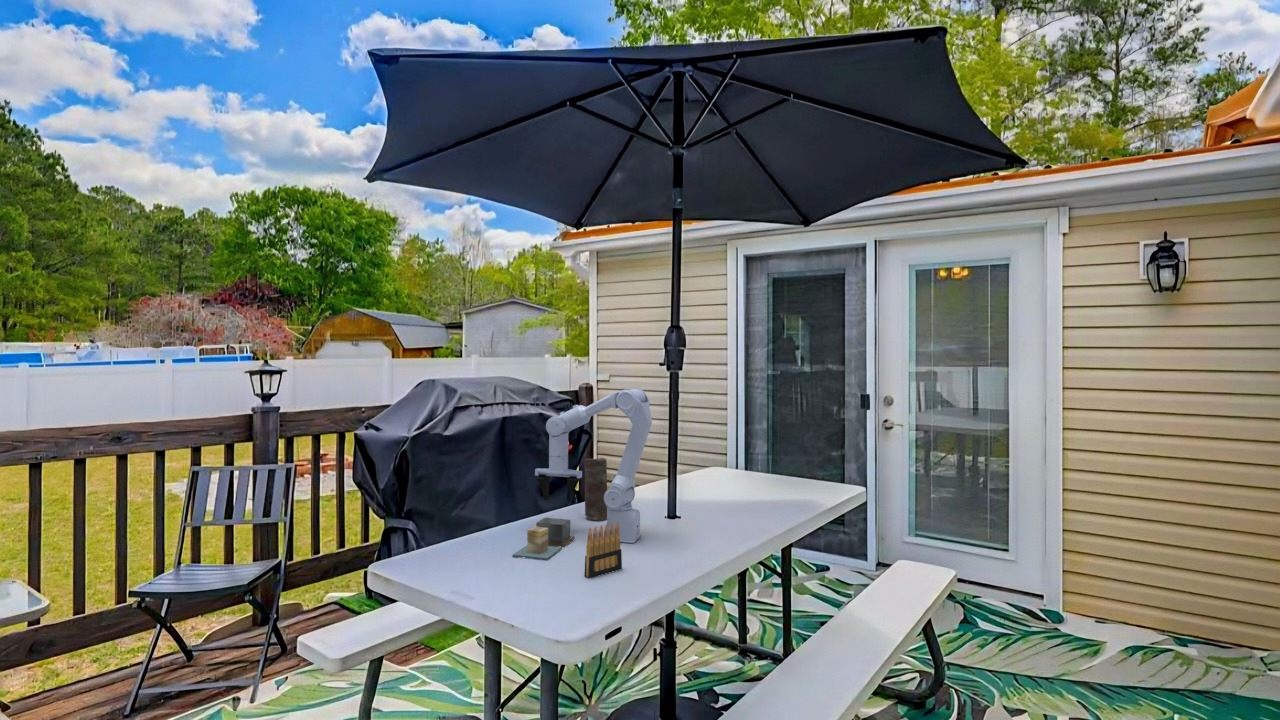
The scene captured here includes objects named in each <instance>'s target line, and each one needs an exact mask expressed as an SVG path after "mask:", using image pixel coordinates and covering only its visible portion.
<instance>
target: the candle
mask: <svg viewBox="0 0 1280 720" xmlns="http://www.w3.org/2000/svg"><path fill="white" fill-rule="evenodd" d="M607 467H608V465H607V458H605V457H600V458H585V459H584V516H585V517H586V518H589V519H590V520H594V521H597V522H602V521H604V520H607V506H606V504H605V502H604V494H605V492H606V491H607V490H608V476H607V475H608V472H607V470H608V469H607Z"/></svg>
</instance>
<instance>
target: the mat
mask: <svg viewBox="0 0 1280 720" xmlns="http://www.w3.org/2000/svg"><path fill="white" fill-rule="evenodd" d="M561 549H562V550H563V547H554V546H548V550H547V551H545V552H543V553H541V554H537V553H530V552H527V545H525V546H523V547H522V548H521V549H519V550H518V551H516V552H515V553H513V554H512V558H518V557H525V558H524V559H529V558H533V559H532V560H539V559H544V560H543V561H549V560H550V559H551V558H553V557H554V556H555V555H556V553H557V552H558V551H559V552H561V551H562V550H561ZM560 550H561V551H560ZM559 552H558V553H559ZM558 553H557V554H558ZM552 556H553V557H552ZM548 559H549V560H548Z"/></svg>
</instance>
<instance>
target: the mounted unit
mask: <svg viewBox="0 0 1280 720" xmlns="http://www.w3.org/2000/svg"><path fill="white" fill-rule="evenodd" d="M535 526H537V527H544V528H548V546H553V547H554V546H561V547H562V548H566V547H567V546H568V545H570V544H571V543H573V542H574V541H575V540H574V539H575V538H576V536H574V535H571V519H565V518H556V517H555V518H553V517H543V518H542V519H540V520H538V521H537V522H535ZM573 540H574V541H573ZM570 542H571V543H570ZM569 543H570V544H569ZM567 544H568V545H567ZM566 545H567V546H566ZM565 546H566V547H565Z"/></svg>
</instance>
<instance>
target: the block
mask: <svg viewBox="0 0 1280 720" xmlns="http://www.w3.org/2000/svg"><path fill="white" fill-rule="evenodd" d="M526 531H527V534H526V536H527V539H526V542H527V545H526V546H527V552H530V553H537V554H541V553H543V552H545V551H547V550H548V528H544V527H537V526H536V525H535V526H533V527H531V528H529V529H527V530H526Z"/></svg>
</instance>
